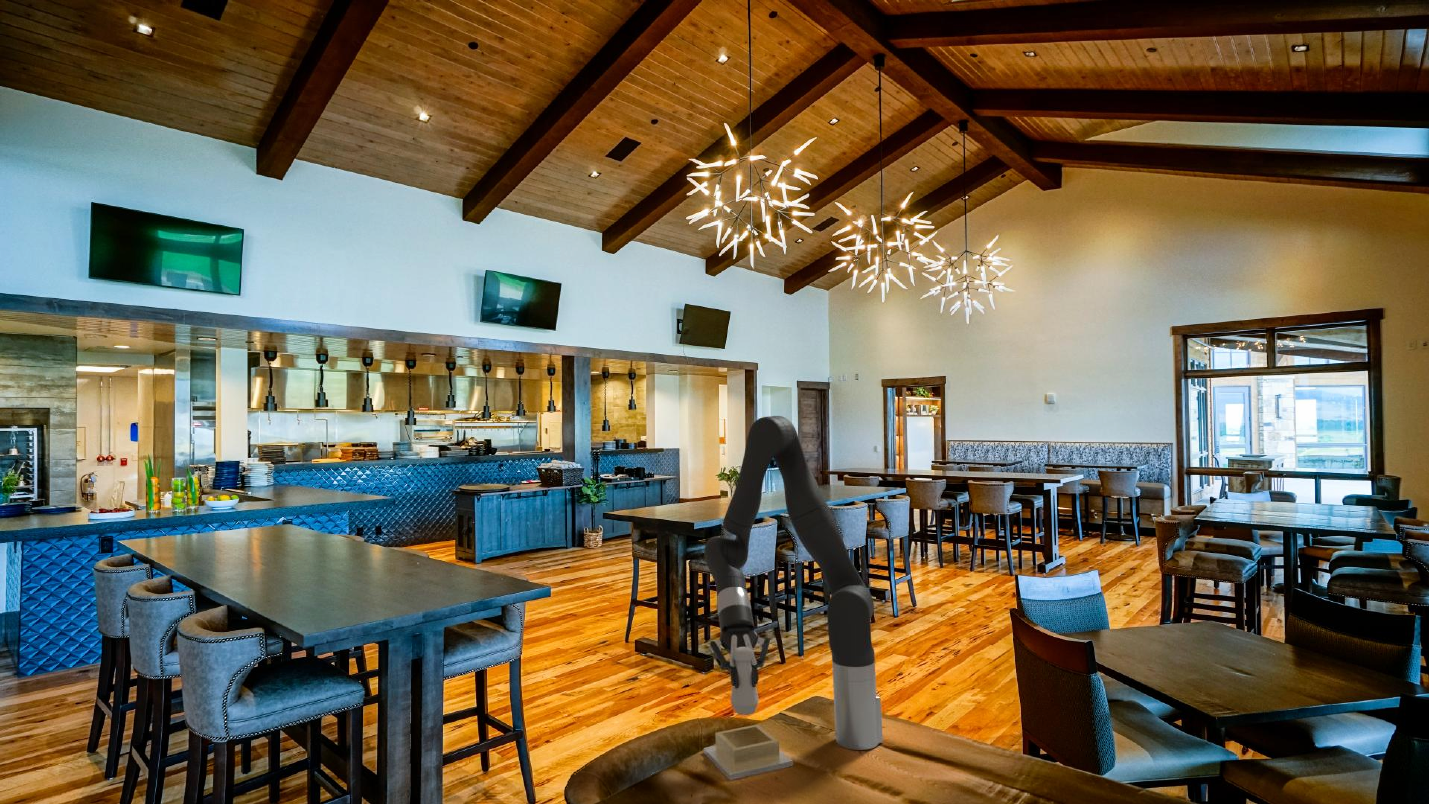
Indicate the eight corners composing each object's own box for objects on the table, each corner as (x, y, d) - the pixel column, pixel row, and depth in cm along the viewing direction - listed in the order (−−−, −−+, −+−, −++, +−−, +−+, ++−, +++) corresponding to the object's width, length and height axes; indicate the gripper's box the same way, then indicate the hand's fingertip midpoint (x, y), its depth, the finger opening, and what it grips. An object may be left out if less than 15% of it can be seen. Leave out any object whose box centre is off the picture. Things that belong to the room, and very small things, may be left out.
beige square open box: (762, 740, 154) (761, 719, 155) (793, 765, 141) (792, 743, 142) (703, 752, 149) (703, 731, 149) (729, 780, 136) (729, 756, 136)
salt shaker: (756, 717, 143) (754, 652, 143) (729, 716, 144) (727, 652, 145) (760, 707, 148) (758, 644, 149) (734, 705, 149) (732, 644, 150)
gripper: (705, 605, 154) (713, 679, 141) (767, 601, 156) (781, 674, 143) (703, 623, 159) (711, 697, 146) (763, 619, 161) (776, 692, 148)
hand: (745, 685), depth 144 cm, fingers closed on salt shaker, 3 cm apart
